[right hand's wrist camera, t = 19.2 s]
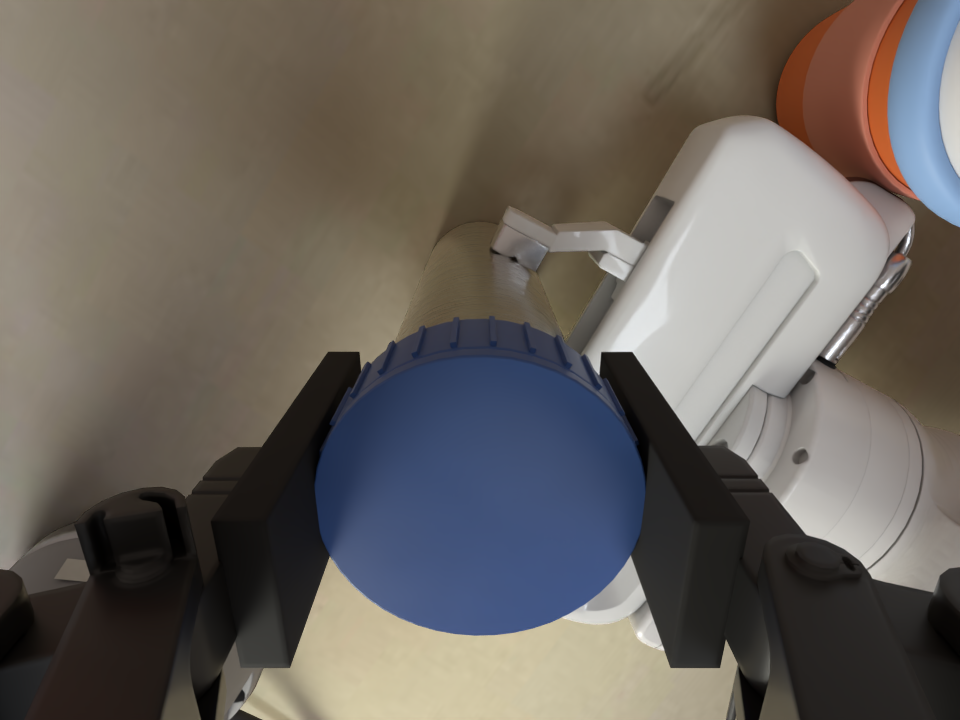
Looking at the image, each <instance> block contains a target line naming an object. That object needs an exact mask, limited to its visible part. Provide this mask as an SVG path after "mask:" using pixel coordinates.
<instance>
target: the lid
mask: <svg viewBox="0 0 960 720" xmlns="http://www.w3.org/2000/svg"><path fill="white" fill-rule="evenodd" d="M330 425H332V427H331V429H330V431H329V433H328V435H327V437H326V439H325V441H324V442H323V444H322V446H321V448H320V450H319V456H320V458H319V461H318V464H317V468H316V474H315V481H314V487H315V496H316V505H317V513H318V521H319V528H320V534H321V537H322V541H323V543H324V545H325V547H326V549H327V551H328V553H329V555H330V557H331V558H332V560H333V561H334V563H335V564H336V566H337V567H338V569H339V570H340V572H341V573H342V574H343V575H344V576H345V577H346V579H347V580H348V581H349V582H350V583H351V584H352V585H353V586H354V587H355V588H356V589H357V590H358V591H359V592H360V593H362V594H363V595H364V596H365V597H366V598H367V599H369V600H370V601H372V602H373V603H375V604H376V605H378V606H379V607H380V608H382V609H384V610H385V611H387V612H389V613H391V614H393V615H395V616H397V617H398V618H401V619H403V620H406V621H408V622H411V623H413V624H416V625H418V626H422V627H425V628H429V629H432V630H436V631H441V632H447V633H453V634H462V635H499V634H507V633H515V632H519V631H524V630H528V629H532V628H535V627H538V626H541V625H544V624H547V623H550V622H553V621H555V620H557V619H559V618H561V617H564V616H566V615H568V614H570V613H572V612H573V611H575V610H577V609H578V608H580V607H582V606H583V605H585V604H586V603H587V602H589V601H590V600H591V599H593V598H594V597H595V596H597V595H598V594H599V593H600V592H601V591H602V590H603V589H604V588H605V587H606V586H607V585H609V584H610V583H611V582H612V581H613V580H614V578H615V577H616V576H617V574H618V573H619V572H620V571H621V569H622V568H623V567H624V566H625V564H626V562H627V560H628V559H629V557H630V555H631V554H632V552H633V550H634V548H635V546H636V543H637V541H638V538H639V536H640V532H641V525H642V517H643V509H644V501H645V493H646V476H645V472H644V467H643V463H642V459H641V456H640V454H639V451H638V449H637V445H639V442H638V439H637V437H636V435H635V433H634V431H633V429H632V427H631V426H630V424H629V422H628V420H627V418H626V416H625V412H624V411H623V409H622V407H621V405H620V403H619V401H618V399H617V397H616V395H615V393H614V391H613V389H612V387H611V386H610V384H609V382H608V380H607V379H606V378H604V379H603V380H602V378H601V377H600V376H599V375H598V373H597V372H596V371H595V370H594V368H593V366H592V364H591V362H590V360H589V358H588V356H587V355H586V354H584V355H583V356H581V355H580V354H579V353H578V352H576V351H575V350H574V349H572V348H571V347H569V346H568V345H566V344H565V343H564V342H563V340H562V337H561V336H559V335H556V337H553V336H551V335H549V334H547V333H545V332H543V331H540V330H537V329H535V328H532V327H531V326H530V323H528V322H524V324H518V323H514V322H510V321H504V320H495V316H489V319H464V320H459V317H454V318H453V321H451V322H445V323H442V324H438V325H435V326H431V327H428V328H425V325H423V326H421V327H419V330H418V332H416V333H413V334H411V335H409V336H407V337H405V338H404V339H402V340H400V341H399V342H397V343H395V342H394V341H392V342H390V343H389V345H388V347H387V349H386V351H385V352H383V353H382V354H381V355H380V356H378V357H377V358H376V359H375V360H374V361H373V362H372V363H371V364H370V363H369V362H367V363H366V364H365V365H364V367H363V369H362V371H361V373H360V375H359V377H358V379H357V381H356V383H355V385H354V387H353V389H352V388H351V387H348V389H347V391H346V393H345V395H344V397H343V399H342V401H341V403H340V405H339V407H338V408H337V410H336V412H335V414H334V416H333V418H332V420H331V422H330Z"/></svg>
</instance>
